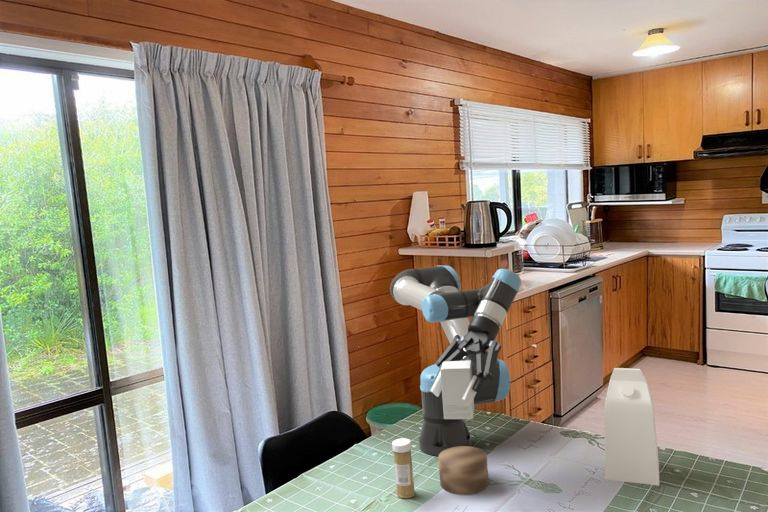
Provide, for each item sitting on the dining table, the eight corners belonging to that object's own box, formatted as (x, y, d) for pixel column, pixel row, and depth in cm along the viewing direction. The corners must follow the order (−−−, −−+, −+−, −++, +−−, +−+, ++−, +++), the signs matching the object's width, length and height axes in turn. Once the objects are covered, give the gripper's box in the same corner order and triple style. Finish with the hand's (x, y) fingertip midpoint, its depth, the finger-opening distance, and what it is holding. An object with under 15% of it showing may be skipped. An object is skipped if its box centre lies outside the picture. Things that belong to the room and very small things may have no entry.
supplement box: (474, 419, 138) (470, 368, 137) (443, 419, 140) (439, 369, 139) (475, 408, 146) (471, 359, 145) (446, 409, 147) (442, 360, 146)
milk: (658, 464, 145) (654, 363, 143) (659, 485, 135) (654, 377, 133) (608, 459, 150) (602, 361, 148) (604, 479, 140) (598, 374, 138)
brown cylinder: (431, 480, 147) (429, 453, 147) (470, 468, 152) (468, 442, 152) (457, 500, 136) (454, 471, 136) (498, 486, 141) (496, 458, 141)
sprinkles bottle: (418, 491, 141) (413, 438, 140) (410, 500, 137) (405, 446, 136) (401, 488, 144) (397, 436, 143) (393, 497, 140) (388, 443, 139)
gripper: (530, 334, 143) (494, 415, 134) (461, 325, 160) (425, 396, 151) (515, 317, 139) (477, 399, 130) (447, 310, 156) (409, 382, 147)
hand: (449, 397), depth 140 cm, fingers closed on supplement box, 10 cm apart
